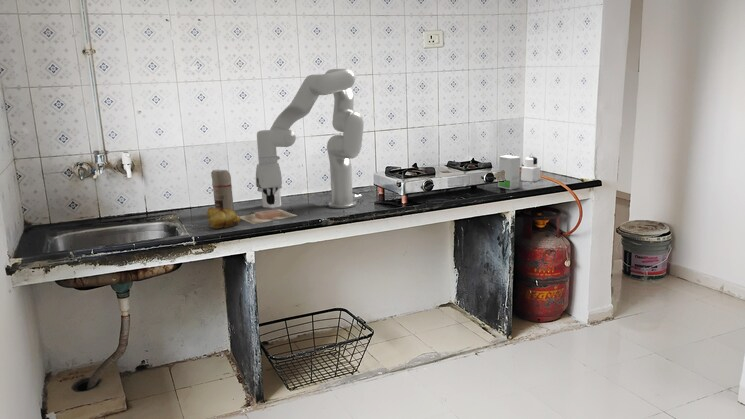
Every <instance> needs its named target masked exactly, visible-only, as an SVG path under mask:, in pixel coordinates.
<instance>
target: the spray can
mask: <svg viewBox="0 0 745 419" xmlns="http://www.w3.org/2000/svg"><path fill="white" fill-rule="evenodd" d="M210 176H211V185H212V191H213V201H214V208H216V209H219V210H223V209H231V210H233V211H234V212H235V206H234V197H233V186H232V177H231V176H232V175H231V173H230V172H229V170H228V169H219V168H217V169H212V171H211V172H210Z"/></svg>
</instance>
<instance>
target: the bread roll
mask: <svg viewBox="0 0 745 419" xmlns="http://www.w3.org/2000/svg"><path fill="white" fill-rule="evenodd" d="M206 216H207V219H208V223H209V224H208V225H209V226H210V228H212V229H221V228H223V229H224V228H226V229H227V228H230V227H232V226H237V225H238V224H239V223H240V222H241V219H240V216H239V215H238V214H237V213H236V211H235V210H234V211H233V210H231V209H223V210H219V209H216V208H215V207H213V206H211V207H209V208H208V209H207V212H206Z"/></svg>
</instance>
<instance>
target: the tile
mask: <svg viewBox="0 0 745 419" xmlns="http://www.w3.org/2000/svg"><path fill="white" fill-rule="evenodd" d="M254 214H255V217H258V218H260V219H266V218H272V217H277V216H282V212H281V211H278V209H275V208H271V209H267V210H262V211H256V212H254Z"/></svg>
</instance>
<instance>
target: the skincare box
mask: <svg viewBox="0 0 745 419" xmlns="http://www.w3.org/2000/svg"><path fill="white" fill-rule="evenodd" d="M498 164H499V165H498V167H499V168H498V171H499V170H504V171H505V174H506V181H504V182H499V181H498V182H497V186H498V187H497V188H501V189H506V190H515V189H519V188H520V175H521V172H520V171H521V156H517V155H511V154H505V155H500V156H499V162H498Z"/></svg>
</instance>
